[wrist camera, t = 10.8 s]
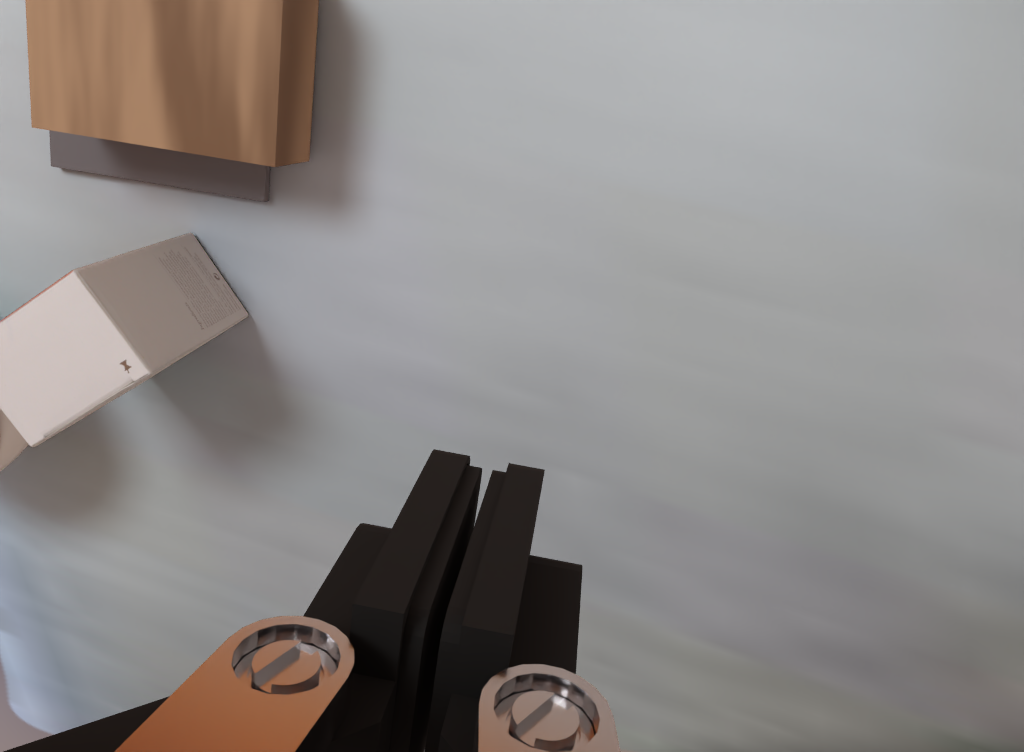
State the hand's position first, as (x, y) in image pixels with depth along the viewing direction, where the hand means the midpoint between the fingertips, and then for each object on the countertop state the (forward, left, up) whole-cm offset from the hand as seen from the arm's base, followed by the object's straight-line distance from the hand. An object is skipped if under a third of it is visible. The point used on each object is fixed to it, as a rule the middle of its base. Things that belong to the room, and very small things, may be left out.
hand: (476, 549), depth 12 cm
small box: (+22, +8, -32) cm, 40 cm away
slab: (+14, -6, -29) cm, 33 cm away
